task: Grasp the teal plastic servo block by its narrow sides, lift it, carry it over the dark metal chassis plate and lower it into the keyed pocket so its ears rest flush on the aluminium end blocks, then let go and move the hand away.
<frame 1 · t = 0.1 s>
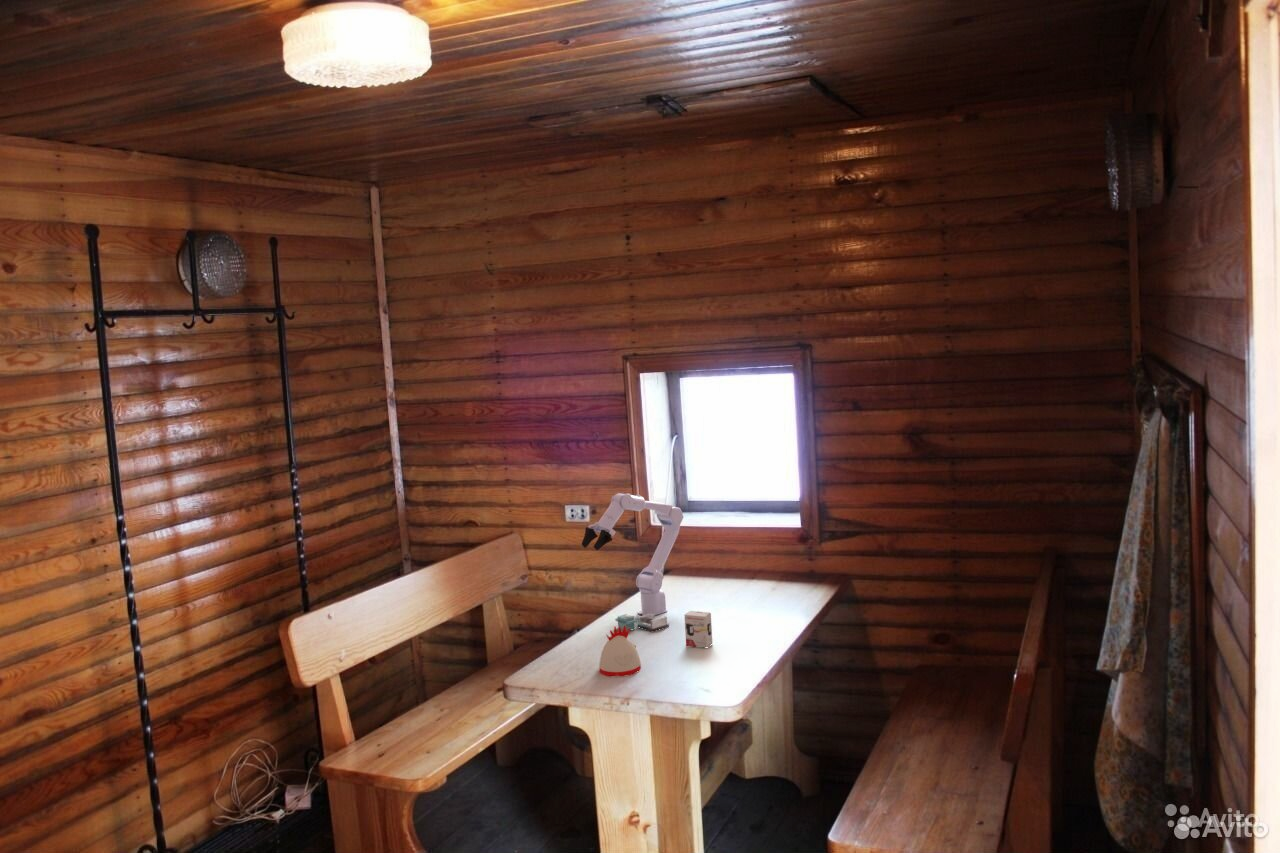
hand: (589, 547, 385), 32 cm above the table, tool tilted 50°, fingers open, 7 cm apart
chicken hat: (620, 670, 342), on the table
servo block: (626, 629, 387), on the table
ink box: (699, 646, 362), on the table
chassis plate: (652, 627, 387), on the table
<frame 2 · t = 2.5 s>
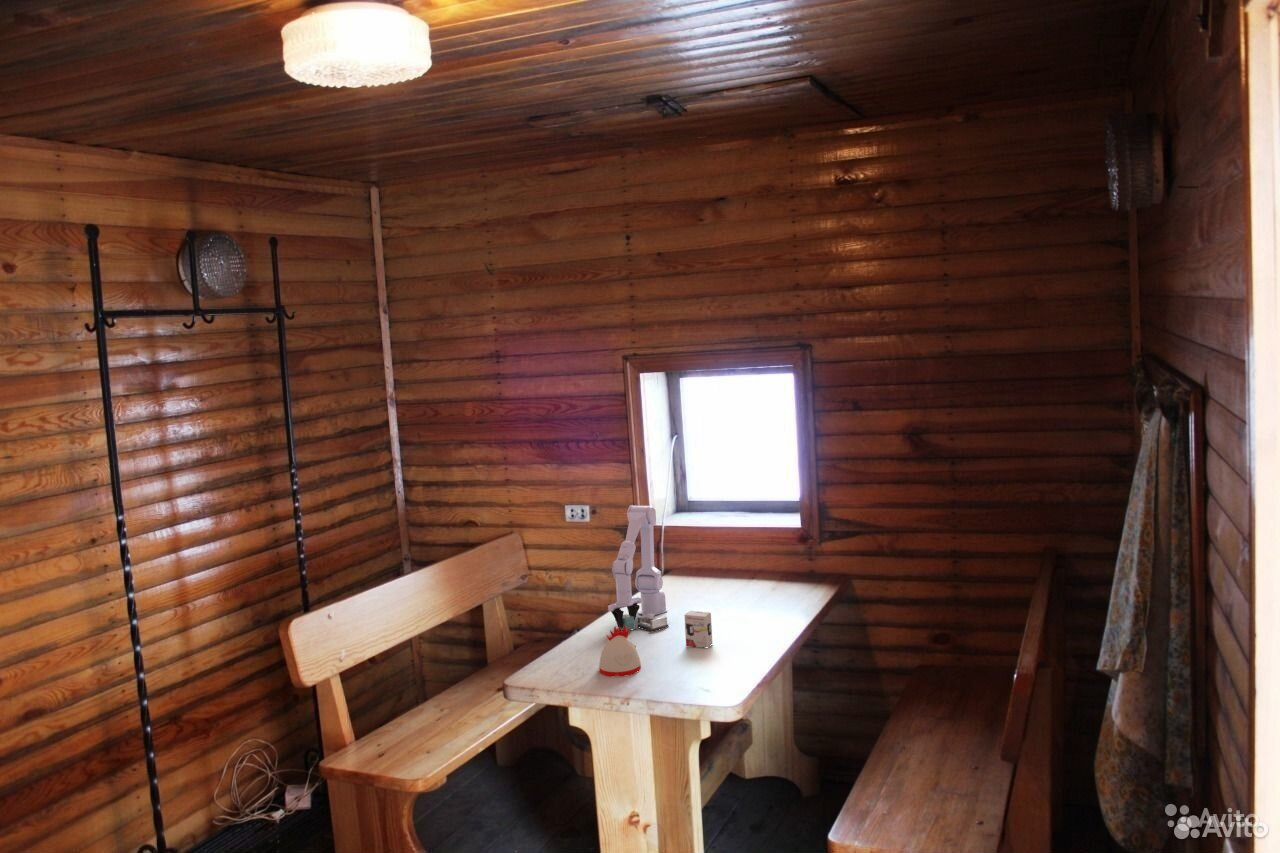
hand: (626, 625, 387), 1 cm above the table, tool pointing down, fingers open, 5 cm apart
nothing on the table moved.
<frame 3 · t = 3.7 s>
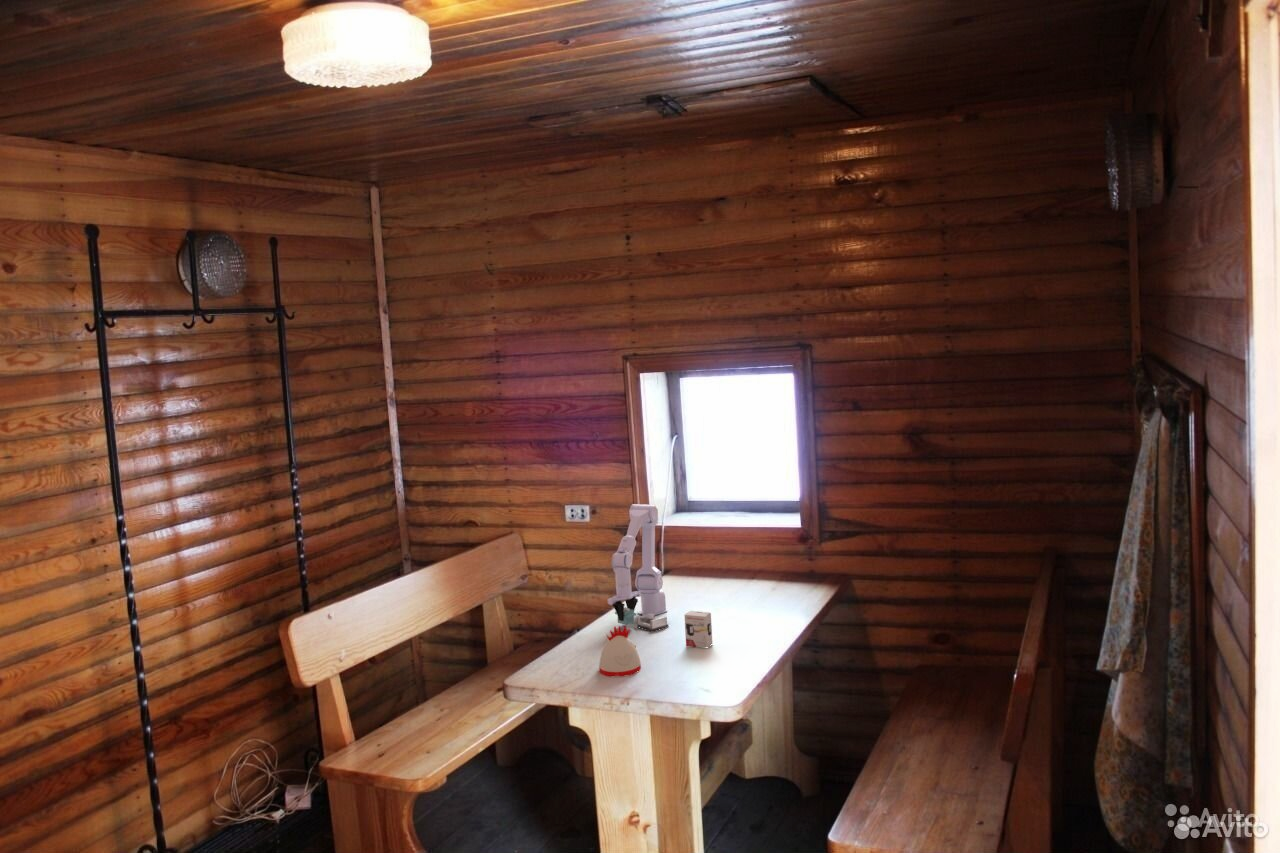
hand: (625, 618, 386), 4 cm above the table, tool pointing down, fingers closed on servo block, 4 cm apart
servo block: (626, 622, 386), point 3 cm above the table, touching gripper
everything else where it was.
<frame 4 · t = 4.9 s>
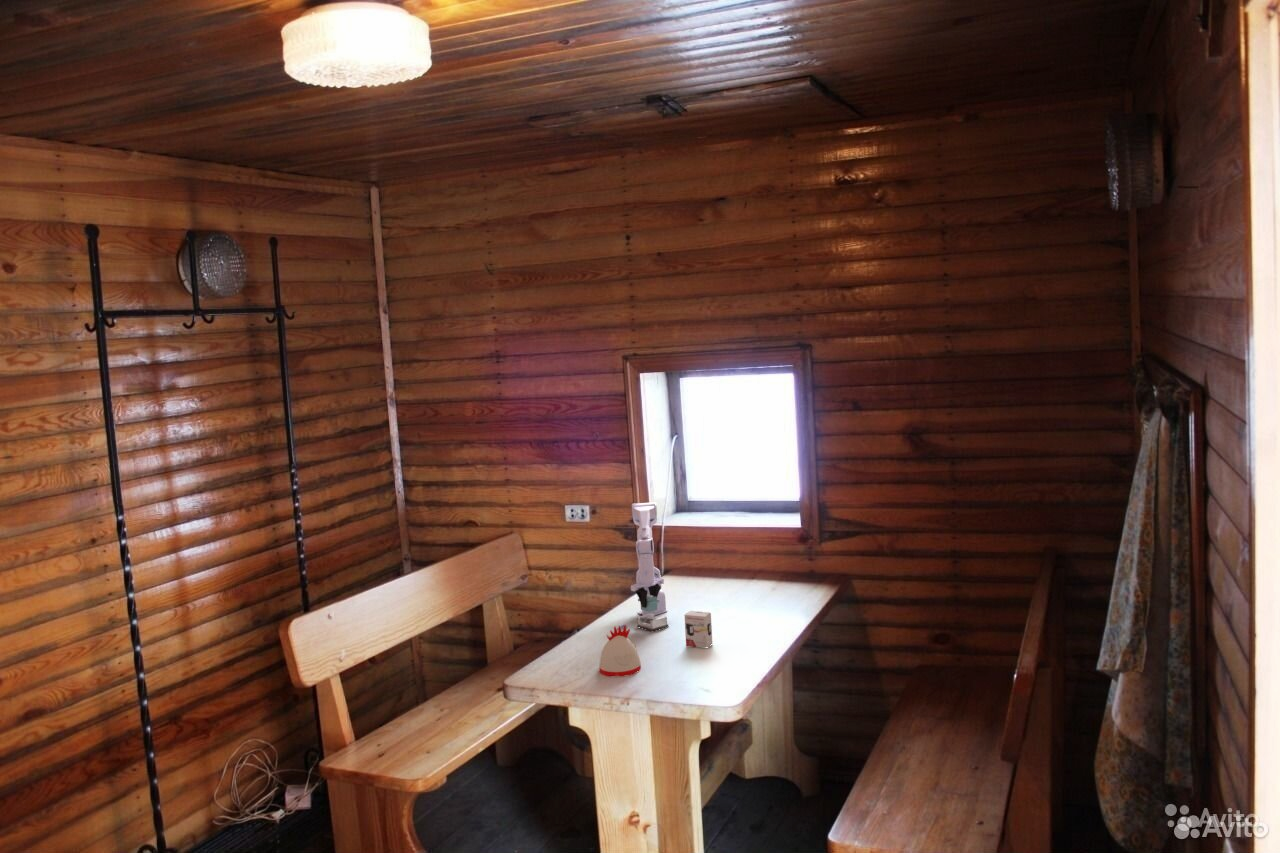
hand: (648, 605, 386), 8 cm above the table, tool pointing down, fingers closed on servo block, 4 cm apart
servo block: (649, 609, 386), point 7 cm above the table, touching gripper
everything else where it was.
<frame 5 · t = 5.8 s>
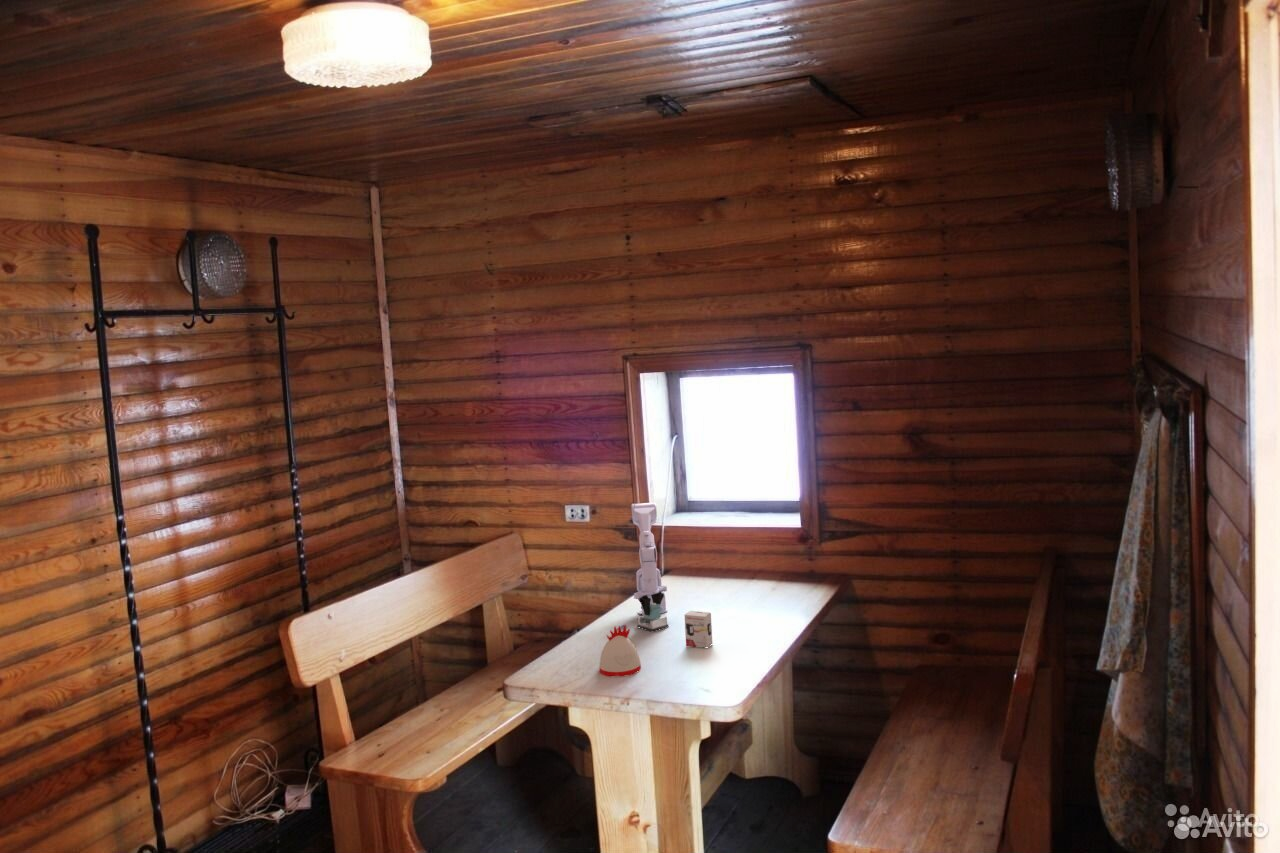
hand: (651, 613, 386), 5 cm above the table, tool pointing down, fingers closed on servo block, 4 cm apart
servo block: (652, 617, 387), point 4 cm above the table, touching gripper
everything else where it was.
when the fingers open (3 cm above the table, at t = 6.8 s): servo block stays where it is, resting on chassis plate.
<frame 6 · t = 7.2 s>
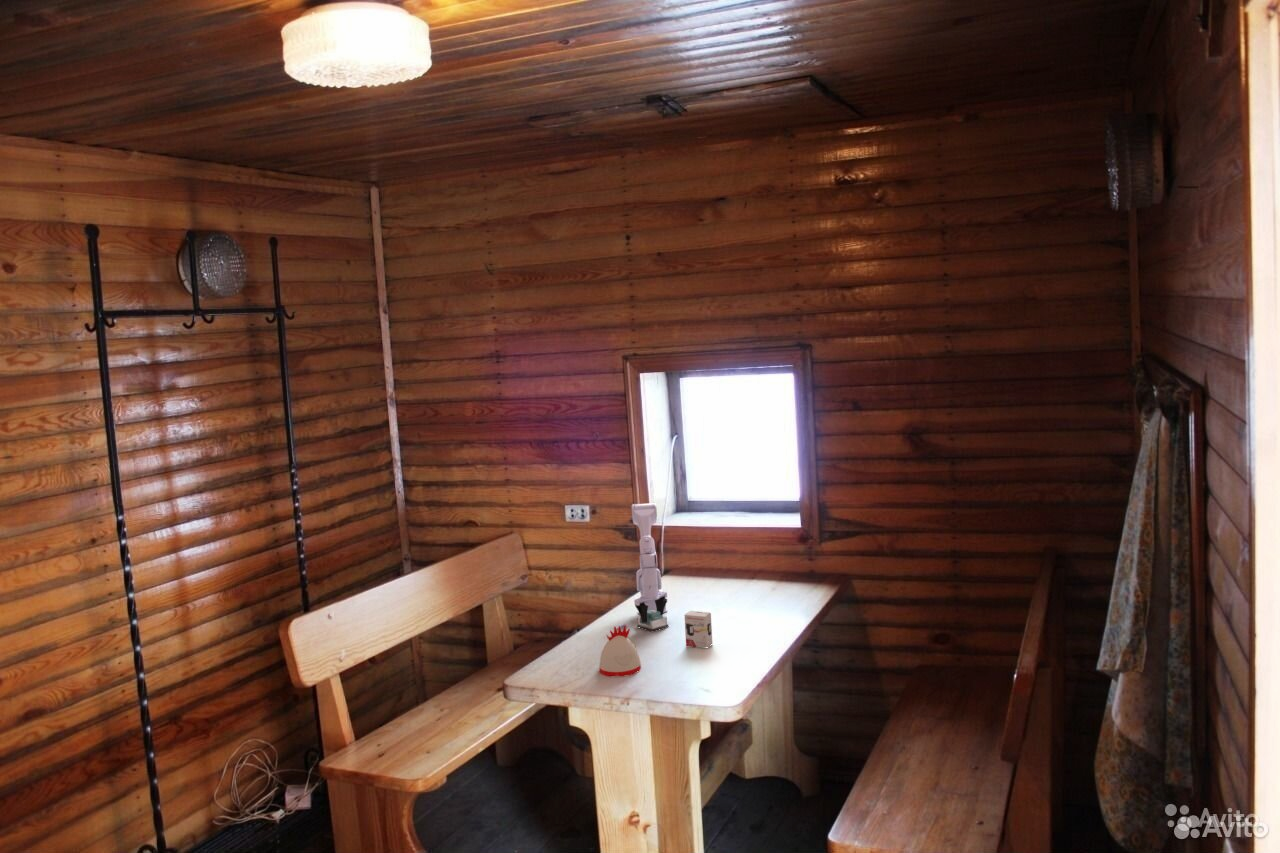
hand: (652, 619, 387), 3 cm above the table, tool pointing down, fingers open, 7 cm apart
servo block: (652, 624, 387), point 1 cm above the table, touching chassis plate
everything else where it was.
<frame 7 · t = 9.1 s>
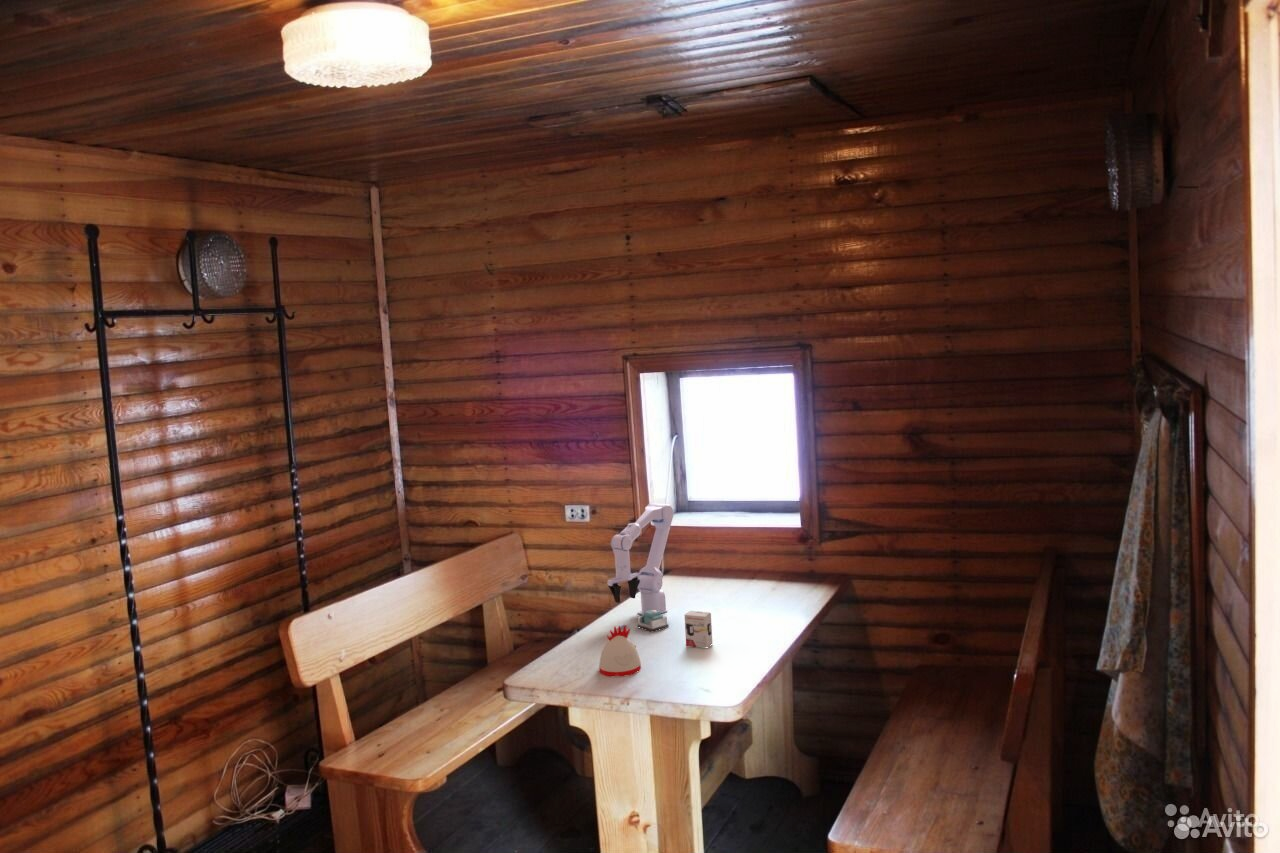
hand: (625, 600, 394), 9 cm above the table, tool pointing down, fingers open, 7 cm apart
nothing on the table moved.
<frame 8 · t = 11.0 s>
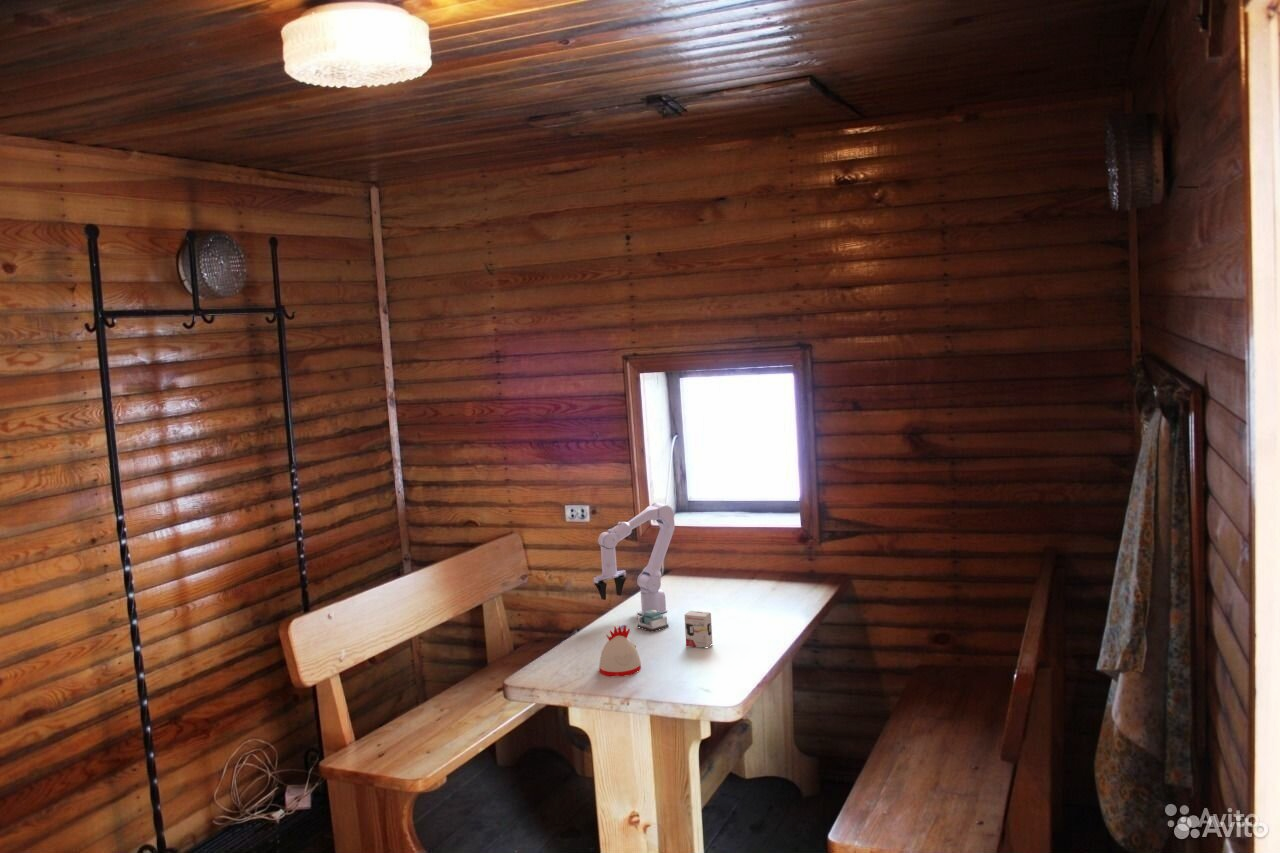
hand: (611, 597, 398), 9 cm above the table, tool pointing down, fingers open, 7 cm apart
nothing on the table moved.
at the end: servo block 0.0 cm off-centre on the chassis plate, point 1.0 cm above the chassis plate's base; servo block tilted 0°; the gripper is holding nothing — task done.
